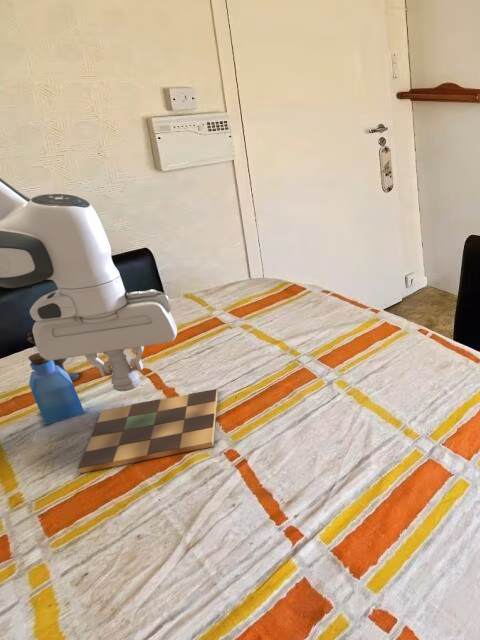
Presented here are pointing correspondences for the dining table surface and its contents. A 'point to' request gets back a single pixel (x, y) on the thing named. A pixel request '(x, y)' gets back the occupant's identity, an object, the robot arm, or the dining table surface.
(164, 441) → the chessboard
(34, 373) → the perfume bottle
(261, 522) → the dining table surface
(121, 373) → the rook chess piece
